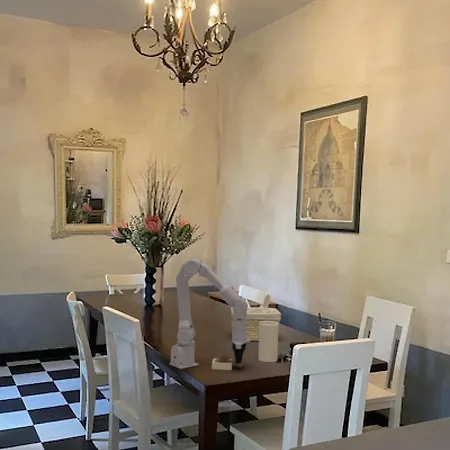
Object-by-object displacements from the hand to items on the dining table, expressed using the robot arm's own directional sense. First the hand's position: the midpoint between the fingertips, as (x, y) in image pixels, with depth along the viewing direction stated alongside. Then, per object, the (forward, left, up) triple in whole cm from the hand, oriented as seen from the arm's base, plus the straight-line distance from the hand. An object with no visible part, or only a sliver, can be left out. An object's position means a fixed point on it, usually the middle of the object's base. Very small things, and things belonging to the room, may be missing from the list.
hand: (238, 362), depth 217 cm
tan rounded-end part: (-2, +2, -2) cm, 4 cm away
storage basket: (+41, +33, -3) cm, 53 cm away
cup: (+19, +2, -3) cm, 19 cm away
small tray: (-5, +5, -2) cm, 7 cm away
